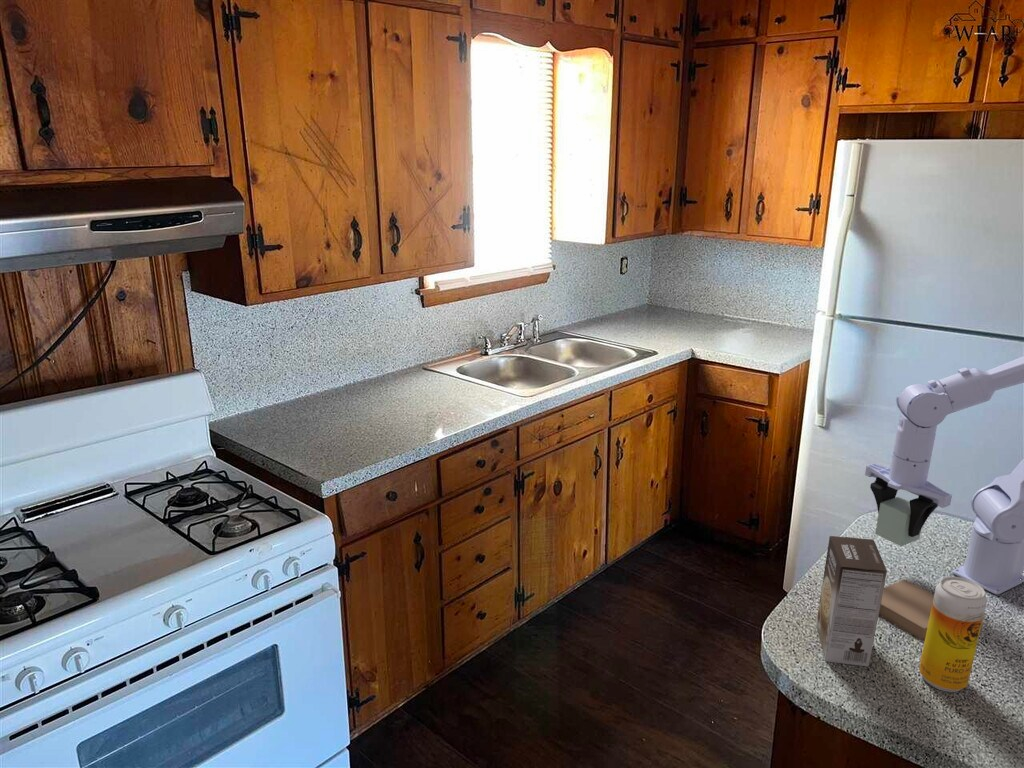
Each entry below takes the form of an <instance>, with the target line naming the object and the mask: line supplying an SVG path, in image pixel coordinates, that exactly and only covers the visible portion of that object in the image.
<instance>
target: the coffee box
mask: <svg viewBox="0 0 1024 768" xmlns="http://www.w3.org/2000/svg"><path fill="white" fill-rule="evenodd" d="M828 539H829V540H828V545H827V552H826V557H825V565H824V569H823V570H824V571H823V576H822V577H823V578H822V585H821V589H820V597H819V604H818V611H817V615H816V623H815V624H816V626H815V627H816V631H817V635H818V638H819V641H820V646H821V649H822V653H823V657H824V661H825V662H827V663H836V664H842V665H843V664H844V665H845V664H846V665H853V666H859V667H860V666H861V667H869V666H870V662H871V657H872V652H873V646H874V642H875V641H874V640H875V635H876V631H877V624H878V620H879V616H880V615H879V611H880V605H881V601H882V595H883V590H884V588H885V584H886V579H887V573H888V570H887V567H886V566H885V563H884V561H883V558H882V556H881V553H880V552H879V548H878V546H877V544H876V543H875V539H870V538H859V537H849V536H834V535H829V537H828Z"/></svg>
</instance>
